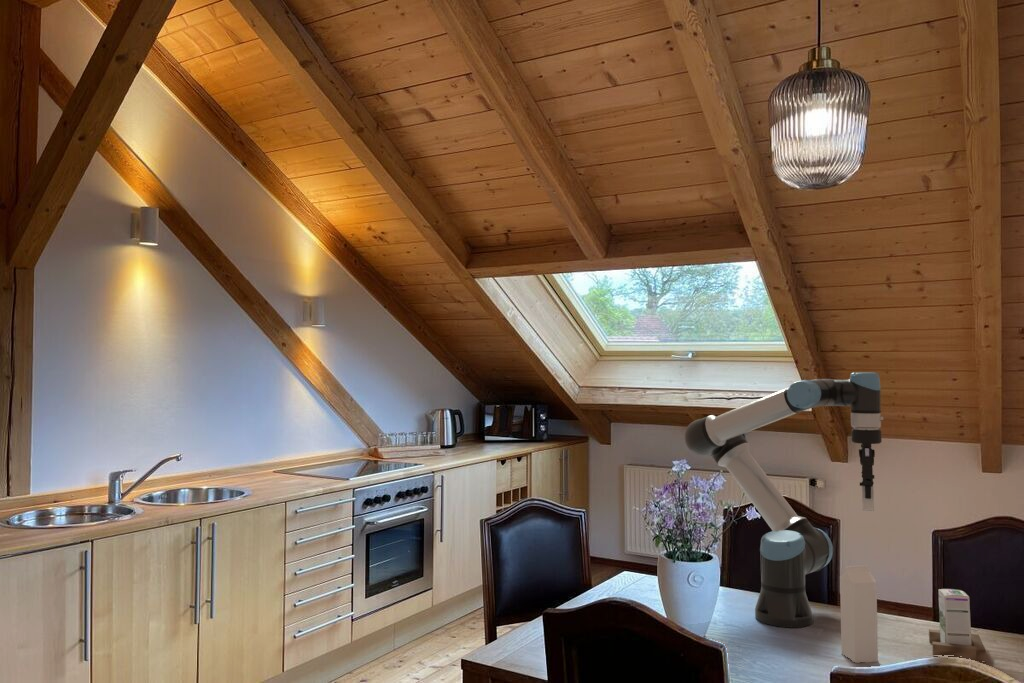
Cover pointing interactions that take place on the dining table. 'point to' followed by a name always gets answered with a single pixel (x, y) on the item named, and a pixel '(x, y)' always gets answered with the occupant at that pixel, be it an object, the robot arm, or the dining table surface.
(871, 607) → the milk
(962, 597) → the syrup box
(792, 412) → the robot arm
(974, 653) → the brown square tray
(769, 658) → the dining table surface
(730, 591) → the dining table surface
